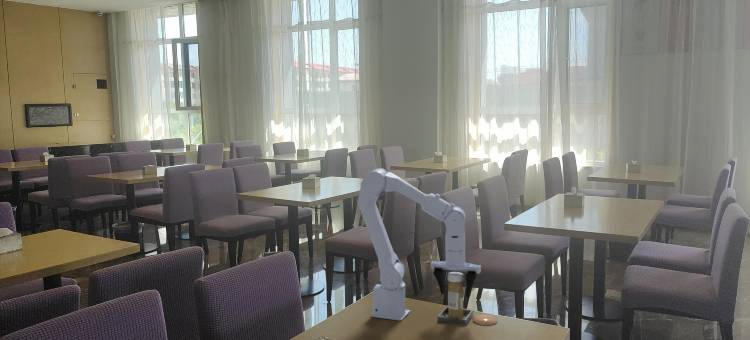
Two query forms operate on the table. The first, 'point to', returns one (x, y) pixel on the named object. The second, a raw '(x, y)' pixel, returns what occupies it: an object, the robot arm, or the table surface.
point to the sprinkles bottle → (455, 295)
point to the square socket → (455, 320)
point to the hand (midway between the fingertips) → (455, 294)
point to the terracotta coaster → (485, 319)
